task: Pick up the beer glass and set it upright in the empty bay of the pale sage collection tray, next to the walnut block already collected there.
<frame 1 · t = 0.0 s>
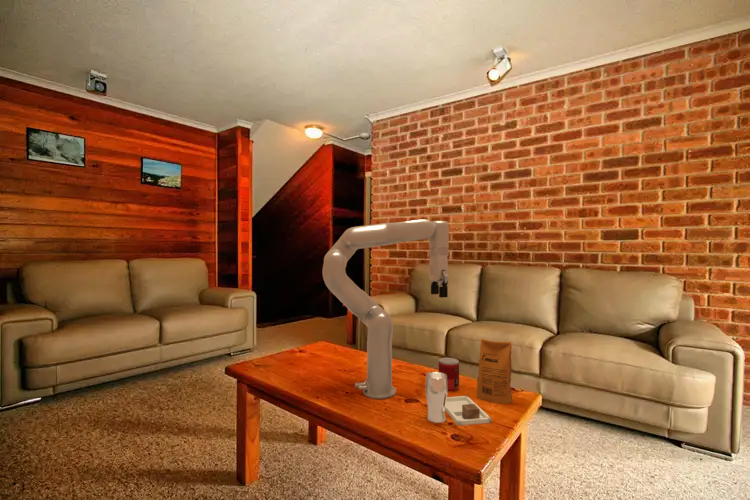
hand: (438, 295, 143), 37 cm above the table, tool pointing down, fingers open, 9 cm apart
tray: (463, 414, 121), on the table
canned food: (448, 388, 144), on the table
walnut block: (470, 419, 115), point 1 cm above the table, touching tray
coffee package: (494, 400, 132), on the table
beer glass: (436, 422, 115), on the table
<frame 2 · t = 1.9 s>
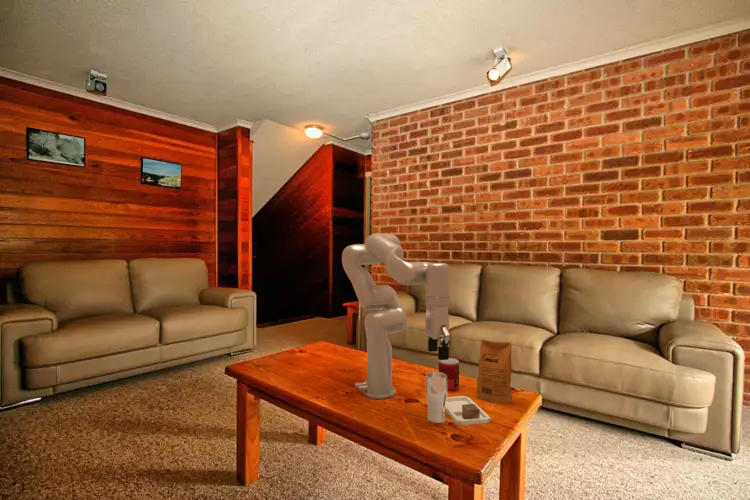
hand: (437, 355, 116), 21 cm above the table, tool pointing down, fingers open, 9 cm apart
nothing on the table moved.
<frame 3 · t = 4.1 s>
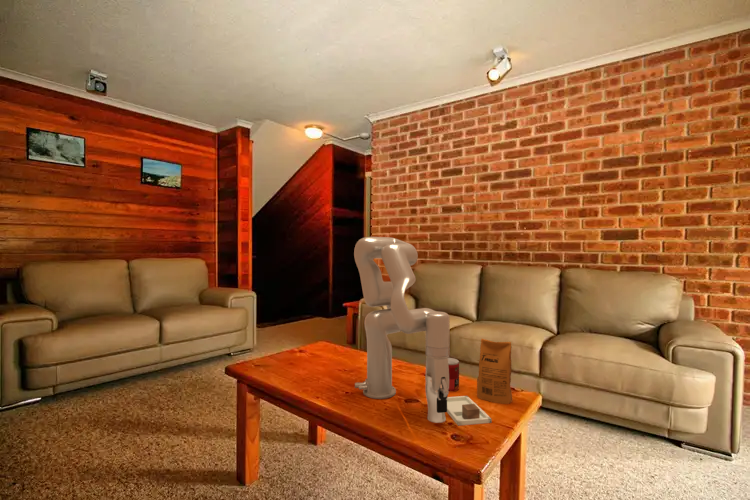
hand: (437, 406, 116), 5 cm above the table, tool pointing down, fingers closed on beer glass, 6 cm apart
beer glass: (436, 422, 115), on the table, touching gripper
everything else where it was.
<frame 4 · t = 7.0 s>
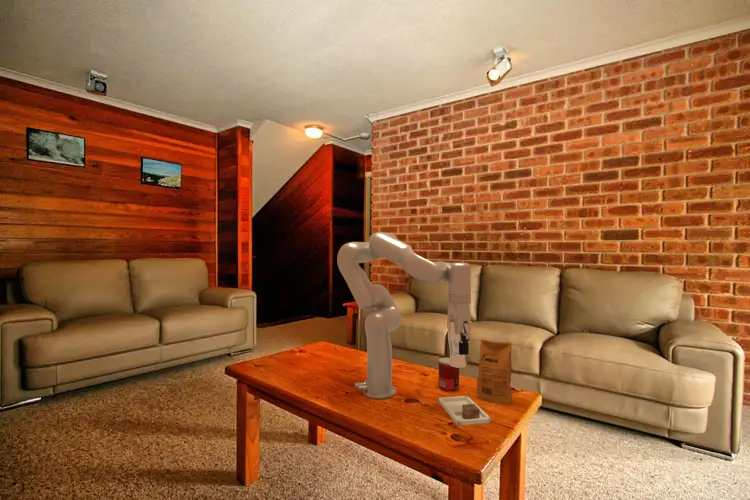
hand: (459, 351, 124), 20 cm above the table, tool pointing down, fingers closed on beer glass, 6 cm apart
beer glass: (457, 365, 124), point 15 cm above the table, touching gripper
everything else where it was.
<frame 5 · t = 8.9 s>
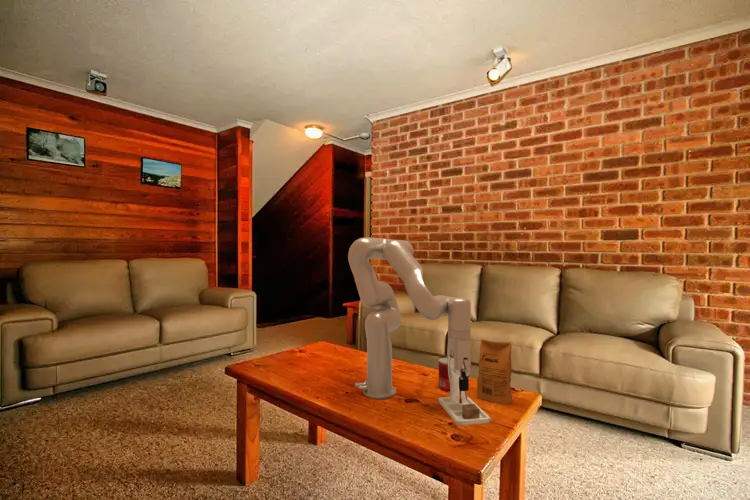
hand: (459, 386, 124), 8 cm above the table, tool pointing down, fingers closed on beer glass, 6 cm apart
beer glass: (458, 400, 124), point 3 cm above the table, touching gripper
everything else where it was.
when the fingers open (7 cm above the table, at t = 10.1 s): beer glass drops 1 cm, resting on tray.
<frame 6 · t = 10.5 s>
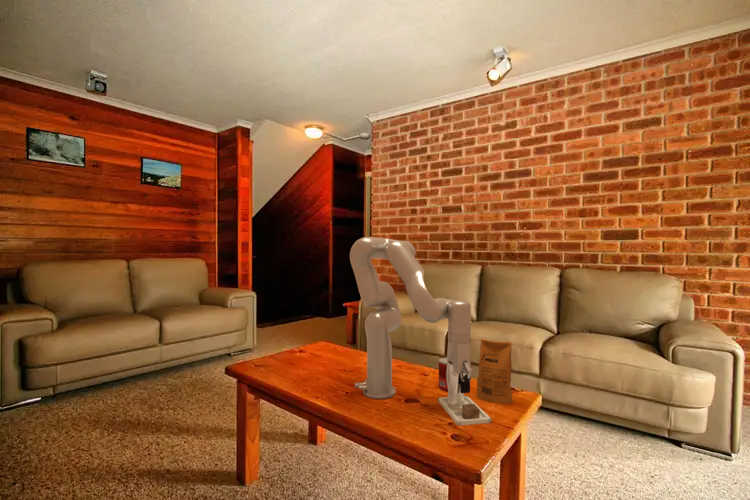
hand: (459, 387, 124), 8 cm above the table, tool pointing down, fingers open, 9 cm apart
beer glass: (455, 405, 125), point 1 cm above the table, touching gripper, tray
everything else where it was.
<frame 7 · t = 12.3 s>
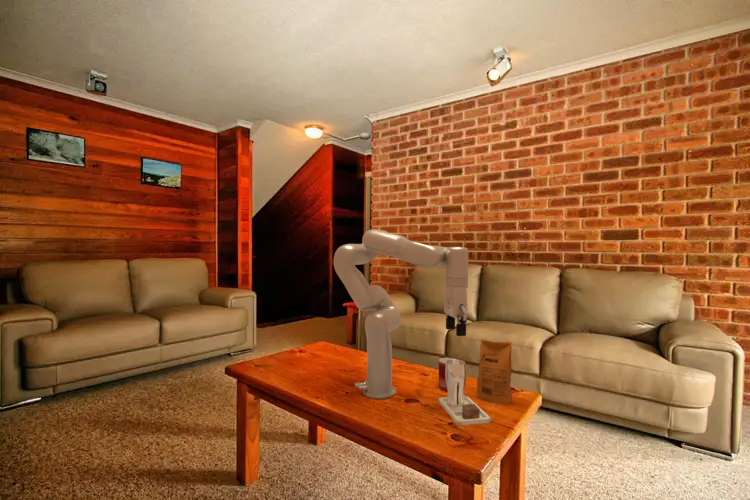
hand: (455, 332, 125), 26 cm above the table, tool pointing down, fingers open, 9 cm apart
beer glass: (455, 406, 125), point 1 cm above the table, touching tray
everything else where it was.
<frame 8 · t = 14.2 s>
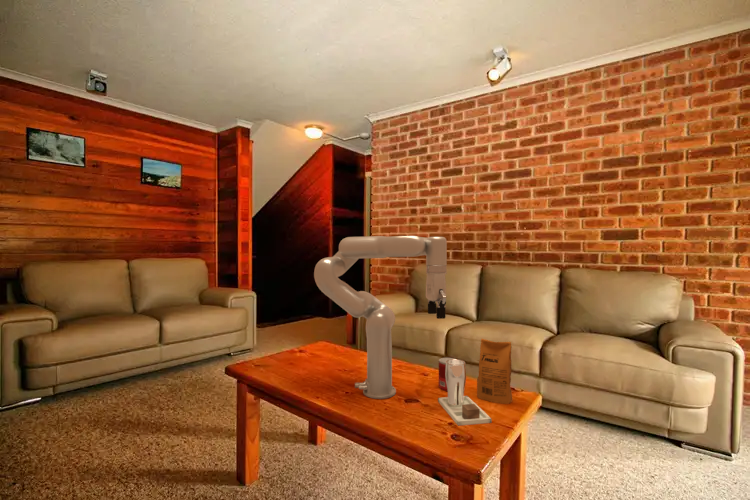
hand: (436, 315, 135), 30 cm above the table, tool pointing down, fingers open, 9 cm apart
nothing on the table moved.
at the end: beer glass inside the target area on the tray (1.5 cm from its centre), point 1.0 cm above the tray's base; beer glass tilted 0°; the gripper is holding nothing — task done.
